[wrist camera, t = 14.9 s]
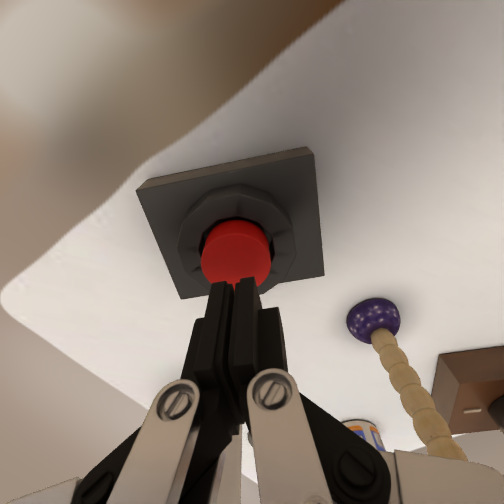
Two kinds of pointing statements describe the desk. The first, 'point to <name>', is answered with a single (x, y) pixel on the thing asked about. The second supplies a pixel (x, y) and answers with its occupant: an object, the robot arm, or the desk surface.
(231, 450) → the travel mug
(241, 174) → the switch block
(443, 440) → the toy lamp
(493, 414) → the dimmer knob
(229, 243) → the button
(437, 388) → the dimmer panel
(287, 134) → the desk surface
